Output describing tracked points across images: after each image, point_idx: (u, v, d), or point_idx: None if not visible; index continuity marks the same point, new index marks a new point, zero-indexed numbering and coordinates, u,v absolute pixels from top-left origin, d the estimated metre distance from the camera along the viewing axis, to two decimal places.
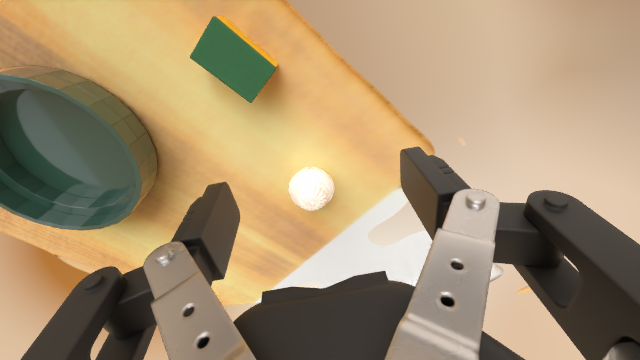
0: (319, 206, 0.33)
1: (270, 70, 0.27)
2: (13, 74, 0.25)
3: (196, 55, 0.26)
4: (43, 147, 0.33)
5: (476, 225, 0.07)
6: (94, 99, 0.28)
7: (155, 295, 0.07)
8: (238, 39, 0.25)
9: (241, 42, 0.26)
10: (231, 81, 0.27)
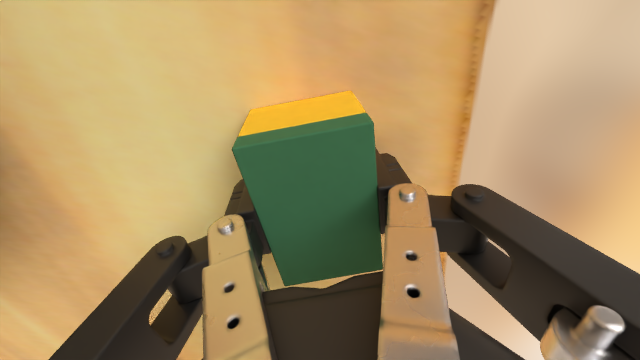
0: None
1: (373, 267, 0.12)
2: None
3: (253, 158, 0.08)
4: None
5: (414, 215, 0.08)
6: None
7: (210, 261, 0.08)
8: (375, 194, 0.10)
9: (374, 201, 0.10)
10: (283, 241, 0.11)
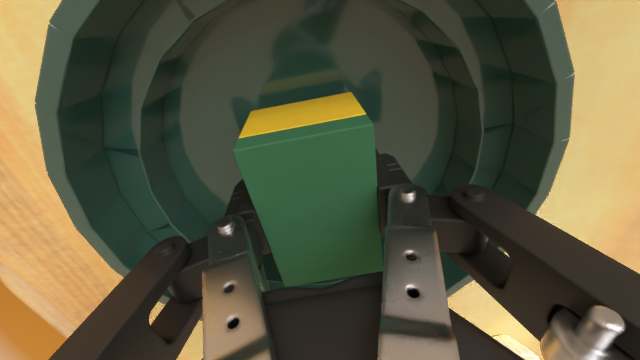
0: None
1: (373, 268, 0.12)
2: None
3: (254, 159, 0.08)
4: None
5: (414, 215, 0.08)
6: None
7: (210, 261, 0.08)
8: (375, 195, 0.10)
9: (374, 203, 0.10)
10: (284, 243, 0.11)
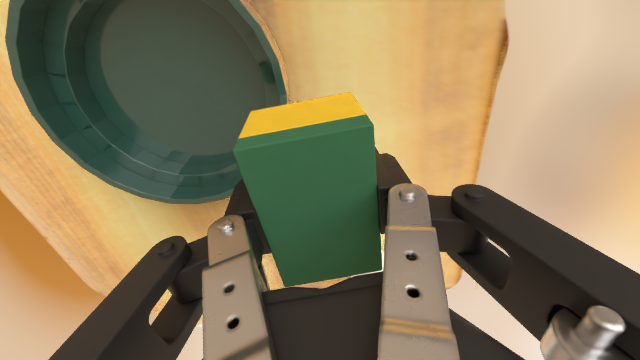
0: None
1: (373, 268, 0.12)
2: (244, 6, 0.18)
3: (254, 159, 0.09)
4: (142, 61, 0.23)
5: (414, 215, 0.08)
6: (286, 85, 0.22)
7: (210, 261, 0.08)
8: (375, 195, 0.10)
9: (374, 203, 0.10)
10: (283, 243, 0.11)
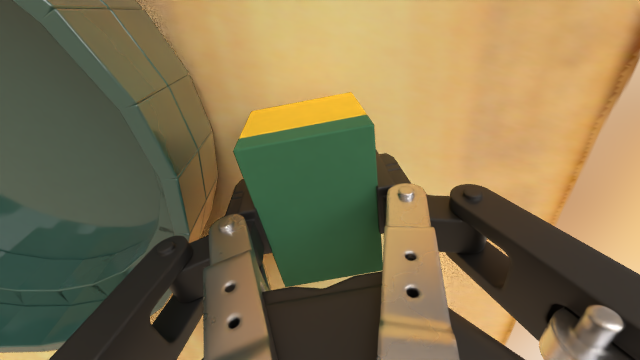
0: None
1: (373, 268, 0.12)
2: None
3: (255, 159, 0.09)
4: None
5: (412, 215, 0.08)
6: (189, 147, 0.10)
7: (211, 260, 0.08)
8: (375, 195, 0.10)
9: (375, 203, 0.10)
10: (284, 242, 0.11)
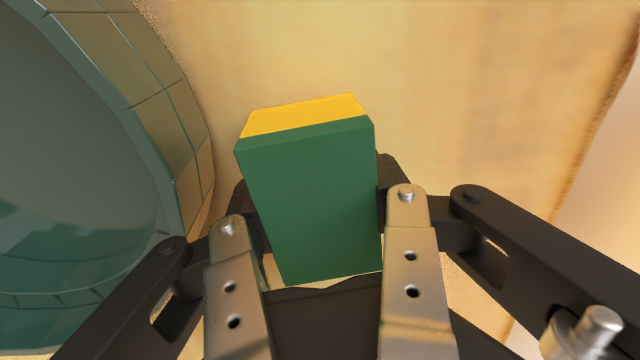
0: None
1: (373, 267, 0.12)
2: None
3: (255, 159, 0.09)
4: None
5: (412, 215, 0.08)
6: (185, 150, 0.10)
7: (211, 260, 0.08)
8: (375, 195, 0.10)
9: (375, 203, 0.10)
10: (284, 242, 0.11)
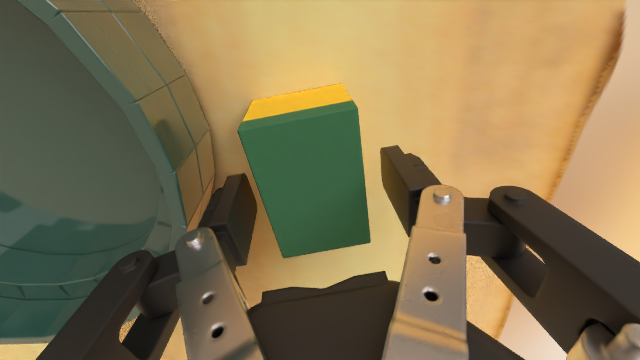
0: None
1: (361, 240, 0.13)
2: None
3: (256, 138, 0.10)
4: None
5: (446, 218, 0.07)
6: (186, 143, 0.11)
7: (181, 277, 0.07)
8: (361, 171, 0.11)
9: (361, 178, 0.11)
10: (282, 215, 0.12)
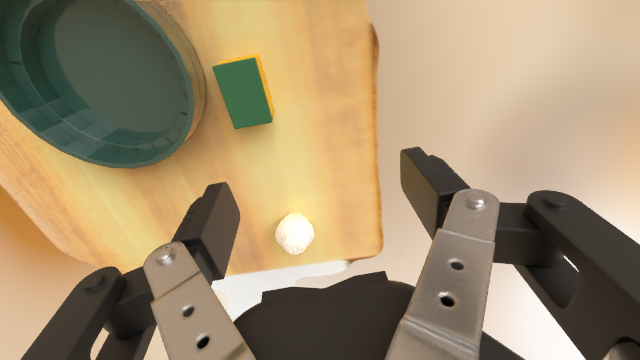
0: (297, 253, 0.40)
1: (267, 120, 0.31)
2: (148, 12, 0.24)
3: (219, 70, 0.28)
4: (84, 53, 0.29)
5: (476, 225, 0.07)
6: (194, 73, 0.29)
7: (155, 295, 0.07)
8: (260, 85, 0.29)
9: (261, 88, 0.29)
10: (232, 105, 0.30)
